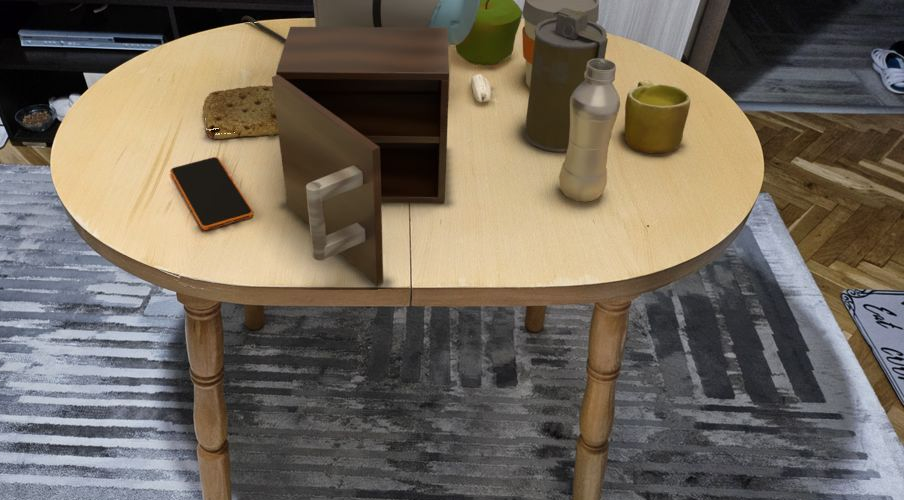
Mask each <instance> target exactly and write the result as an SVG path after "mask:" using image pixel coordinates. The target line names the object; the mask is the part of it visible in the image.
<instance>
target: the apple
mask: <svg viewBox="0 0 904 500" xmlns="http://www.w3.org/2000/svg"><path fill="white" fill-rule="evenodd" d="M522 12H523V9H521V7H520V6H519V5H518V4H517V2H516V1H515V0H480V5H479V9H478V12H477V15H476V18H475V21H474V24H473V26H472V28H471V30H470V32H469V34H468V35H467V37H466V38H465V39H464V40H463V41H462V42H461V43H459V44H457V45H454V48H455V51H456V53H457V54H458V55H459V56H460V57H462V58H463V59H464V60H466V61H467V62H468V63H470V64H473V65H476V66H485V67H486V66H494V65H497V64H500V63H501V62H503V61H505V60H507V59H508V58H509V57H510V56H512V53H513V52H514V46H515V41H516V37H517V36H516V35H517V33H518V30H519V28H520V25H521V21H522V17H523V14H522Z"/></svg>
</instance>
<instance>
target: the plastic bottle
mask: <svg viewBox="0 0 904 500" xmlns="http://www.w3.org/2000/svg"><path fill="white" fill-rule="evenodd" d="M616 70H617V65H616V63H615V62H614V61H612V60H610V59H607V58H606V59H592V60H590V61H588V63H587V67H586V71H585V74H584V78H585V79H586V80H584V81H583V82H582V83H581V84H580V85H579V86H578V87H577V88H576V89H575V90H574V91H573V93H572V95H571V98H570V132H569V135H570V136H569V144H568V148H567V152H565V156H564V161H563V163H562V165H561V168H560V172H559V176H558V180H559V188H560V190H561V191H562V193H563V194H564V196H566V197H567V198H569V199H571V200H573V201H577V202H591V201H595V200H597V199H598V198H599V197H600V196H602V195H603V194H604V191H605V189H606V186H607V182H608V168H607V163H608V162H607V161H608V153H609V152H608V150H609V145H610V141H611V136H612V132H613V129H614V126H615V123H616V120H617V118H618V114H619V111H620V107H621V100H620V99H621V98H620V96H619V93H618V91H617V89H616V87H615V85H614V84H613V83H614V81H615V79H616V72H617V71H616Z"/></svg>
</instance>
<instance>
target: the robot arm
mask: <svg viewBox="0 0 904 500" xmlns="http://www.w3.org/2000/svg"><path fill="white" fill-rule="evenodd" d="M312 3H313V13H314V25H315V26H314V27H426V28H448V46H455V45H457V44H459V43H461V42H462V41H463V40H464V39H465V38H466V37H467V35H468V34H469V32H470V30H471V28H472V26H473V24H474V21H475V18H476V15H477V12H478V9H479V5H480V0H312ZM246 21H248V22H250V23H252V24H253V25H254V26H255V27H257V28H259V29H260V30H261V31H264V32H266V33H267V34H268V35H270V36H272V37H275V39H277V40H279V41H280V42H282V43H284V44H285V42H286V39H287V38H285V37H283V36H282V35H281V34H279V33H277V32H275V31H274V30H272V29H270V28H268V27H267V26H265V25H263V24H262V23H260V22H258V20H256V19H255V18H253V17H252V16H249V15H244V16H242V18H241V19H240V22H243V23H245V22H246ZM254 22H258V23H254Z"/></svg>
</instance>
